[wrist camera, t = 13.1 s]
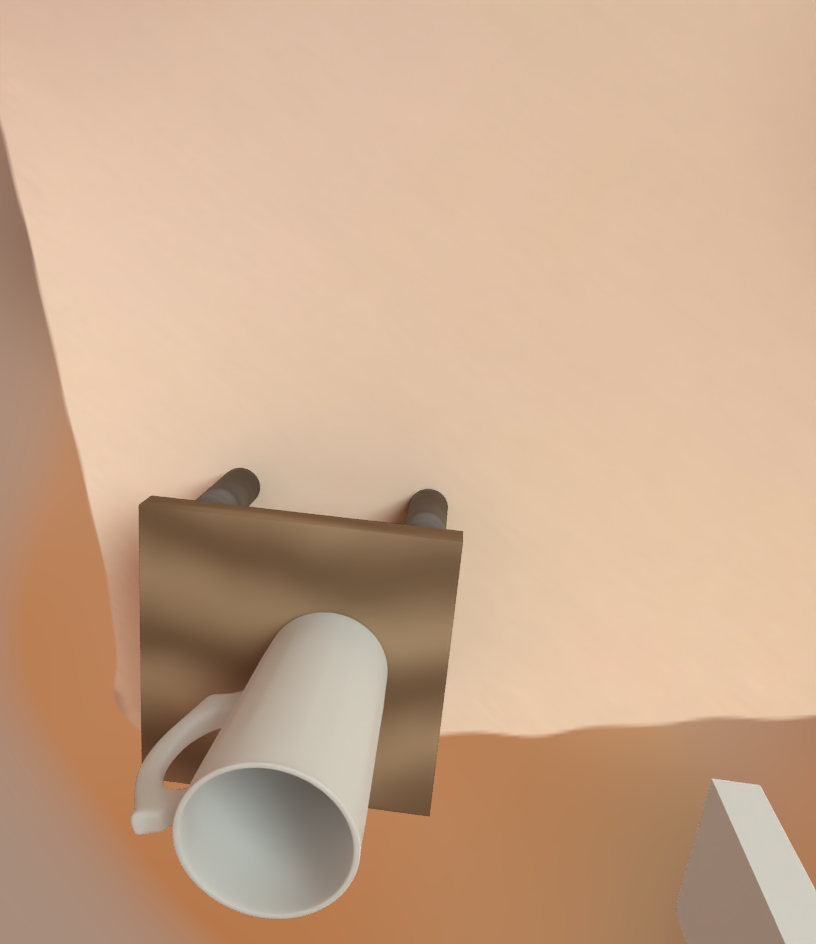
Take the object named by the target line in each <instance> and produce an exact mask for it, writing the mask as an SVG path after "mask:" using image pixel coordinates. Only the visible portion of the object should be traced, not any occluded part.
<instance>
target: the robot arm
mask: <svg viewBox="0 0 816 944" xmlns="http://www.w3.org/2000/svg"><path fill="white" fill-rule="evenodd" d="M676 912H677V915H678V919H679V922H680V925H681V928H682V931H683V935H684V938H685V942H686V944H816V890H815V888H814V886H813V885H812V883H811V881H810V879H809V877H808V875H807V873H806V871H805V869H804V868H803V866H802V864H801V862H800V860H799V858H798V856H797V854H796V852H795V850H794V849H793V847H792V845H791V843H790V841H789V839H788V837H787V835H786V833H785V832H784V830H783V828H782V826H781V824H780V822H779V820H778V818H777V816H776V815H775V813H774V811H773V809H772V807H771V805H770V803H769V801H768V800H767V798H766V796H765V794H764V792H763V790H762V788H761V786H760V785H754V784H747V783H740V782H732V781H726V780H719V779H711V783H710V786H709V790H708V794H707V797H706V801H705V805H704V808H703V812H702V815H701V819H700V822H699V826H698V830H697V833H696V837H695V841H694V844H693V848H692V851H691V855H690V858H689V862H688V866H687V869H686V873H685V876H684V880H683V884H682V887H681V891H680V894H679V898H678V902H677V905H676Z"/></svg>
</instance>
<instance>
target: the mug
mask: <svg viewBox="0 0 816 944" xmlns="http://www.w3.org/2000/svg"><path fill="white" fill-rule="evenodd" d="M387 674H388V668H387V660H386V656H385V653H384V651H383V648H382V646H381V644H380V643H379V641H378V640H377V638H376V637H375V636H374V635H373V633H372V632H371V631H370V630H368V629H367V628H366V627H365V626H364V625H362V624H361V623H359V622H358V621H356V620H354V619H352V618H350V617H347V616H344V615H341V614H337V613H330V612H317V613H310V614H306V615H303V616H300V617H298V618H296V619H294V620H292V621H291V622H289V623H288V624H287V625H285V626H284V627H283V628H282V629H281V630H280V631H279V632H278V634H277V635H276V636H275V638H274V639H273V641H272V642H271V644H270V646H269V647H268V649H267V650H266V652H265V654H264V655H263V657H262V659H261V660H260V662H259V664H258V666H257V667H256V669H255V671H254V673H253V674H252V676H251V678H250V680H249V682H248V683H247V685H246V687H245V689H244V690H243V691H240V692H236V693H229V694H213V695H210V696H208V697H207V698H205V699H204V700H203V701H202V702H201V703H200V704H199V705H197V706H196V707H195V708H194V709H193V710H192V711H191V712H190V713H188V714H187V715H186V716H185V717H184V718H183V719H181V720H180V721H179V722H178V723H177V724H176V725H175V726H174V727H172V728H171V729H170V730H169V731H168V732H167V733H166V734H165V735H164V736H163V737H162V738H161V739H160V740H159V741H158V742H157V744H156V745H155V746H154V747H153V748H152V750H151V751H150V752H149V754H148V755H147V756H146V758H145V760H144V761H143V763H142V765H141V767H140V769H139V772H138V775H137V778H136V782H135V793H134V800H135V801H134V802H135V808H134V812H133V814H132V816H131V826H132V829H133V831H134V833H135V834H138V835H142V834H147V833H157V832H162V831H164V830H165V829H167V828H168V827H169V826H172V825H173V828H172V835H173V844H174V848H175V852H176V854H177V857H178V859H179V861H180V863H181V865H182V867H183V868H184V870H185V872H186V873H187V874H188V875H189V877H190V878H191V879H192V880H193V882H194V883H195V884H196V885H197V886H198V887H199V888H200V889H201V890H202V891H204V892H205V893H206V894H207V895H209V896H210V897H211V898H213V899H214V900H216V901H217V902H219V903H221V904H223V905H225V906H227V907H228V908H231V909H233V910H235V911H238V912H241V913H244V914H247V915H251V916H256V917H262V918H271V919H272V918H273V919H274V918H275V919H284V918H294V917H299V916H304V915H307V914H310V913H313V912H316V911H318V910H320V909H322V908H324V907H326V906H328V905H329V904H331V903H332V902H334V901H335V900H336V899H337V898H339V896H341V895H342V894H343V893H344V891H345V890H346V889H347V888H348V887H349V885H350V884H351V882H352V880H353V878H354V876H355V874H356V872H357V869H358V865H359V861H360V854H361V844H362V838H363V833H364V828H365V822H366V817H367V810H368V804H369V797H370V791H371V784H372V778H373V771H374V764H375V758H376V751H377V745H378V738H379V732H380V726H381V720H382V714H383V707H384V698H385V690H386V683H387ZM219 728H221V730H220V732H219V734H218V735H217V737H216V739H215V741H214V742H213V744H212V746H211V747H210V749H209V751H208V753H207V754H206V756H205V758H204V760H203V761H202V763H201V765H200V767H199V768H198V770H197V772H196V774H195V776H194V778H193V779H192V781H191V783H190V785H189V787H187V788H184V789H178V790H172V789H168V788H166V787H164V785H163V779H164V775H165V773H166V770H167V769H168V767H169V765H170V764H171V763H172V761H173V760H174V759H175V758H176V757H177V755H178V754H179V753H180V752H181V751H182V750H183V749H184V748H185V747H187V746H188V745H189V744H190V743H192V742H193V741H195V740H196V739H198V738H200V737H202V736H203V735H205V734H207V733H209V732H212V731H214V730H216V729H219Z"/></svg>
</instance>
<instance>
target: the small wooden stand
mask: <svg viewBox="0 0 816 944" xmlns="http://www.w3.org/2000/svg"><path fill="white" fill-rule="evenodd" d="M259 491H260V484H259V481H258V478H257V477H256V476H255V474H254V473H252V472H251V471H249V470H247V469H244V468H236V469H233V470H231V471H229V472H228V473H227V474H226V475H225V476H223V477H222V478H221V479H220V480H219V481H218V482H216V483H215V484H214V485H213V486H212V487H211V488H209V489H208V490H207V491H206V492H205V493H204V494H202V495H201V496H200V497H199V498H198V499H197V500H195V501H194V500H185V499H176V498H168V497H159V496H150V497H149V498H148V499H146V500H145V501H143V502H142V503H141V504H139V569H140V650H141V732H142V763H143V761H144V760H145V758H146V756H147V755H148V754H149V752H150V751H151V750H152V748H153V747H154V746H155V745H156V744H157V742H158V741H159V740H160V739H161V738H162V737H163V736H164V735H165V734H166V733H167V732H168V731H169V730H170V729H171V728H172V727H174V726H175V725H176V724H177V723H178V722H179V721H180V720H181V719H183V718H184V717H185V716H186V715H187V714H188V713H190V712H191V711H192V710H193V709H194V708H195V707H196V706H197V705H199V704H200V703H201V702H202V701H203V700H204V699H205V698H207V697H208V696H210V695H213V694H229V693H236V692H240V691H243V690H244V689H245V687H246V685H247V683H248V682H249V680H250V678H251V676H252V674H253V673H254V671H255V669H256V667H257V666H258V664H259V662H260V660H261V659H262V657H263V655H264V654H265V652H266V650H267V649H268V647H269V646H270V644H271V642H272V641H273V639H274V638H275V636H276V635H277V634H278V632H279V631H280V630H281V629H282V628H283V627H284V626H285V625H287V624H288V623H289V622H291V621H292V620H294V619H296V618H298V617H300V616H303V615H306V614H310V613H317V612H330V613H337V614H341V615H344V616H347V617H350V618H352V619H354V620H356V621H358V622H359V623H361V624H362V625H364V626H365V627H366V628H367V629H368V630H370V631H371V632H372V633H373V635H374V636H375V637H376V638H377V640H378V641H379V643H380V644H381V646H382V648H383V651H384V653H385V656H386V660H387V668H388V674H387V683H386V690H385V698H384V707H383V714H382V720H381V726H380V732H379V738H378V745H377V751H376V758H375V764H374V771H373V778H372V784H371V791H370V797H369V804H368V808H371V809H379V810H386V811H393V812H400V813H408V814H415V815H423V816H430V808H431V800H432V792H433V784H434V775H435V767H436V766H435V765H436V759H437V751H438V742H439V734H440V726H441V718H442V710H443V701H444V693H445V685H446V677H447V669H448V660H449V652H450V644H451V636H452V627H453V619H454V611H455V603H456V595H457V586H458V578H459V570H460V562H461V553H462V545H463V531H455V530H447V529H446V522H447V510H448V505H447V501H446V499H445V498H444V496H443V495H442V494H441V493H439V492H438V491H436V490H432V489H424V490H421V491H419V492H417V493H416V494H415V495H414V496H413V497H412V499H411V501H410V505H409V509H408V513H407V517H406V521H405V525H403V524H394V523H386V522H377V521H368V520H359V519H351V518H342V517H333V516H324V515H316V514H307V513H298V512H290V511H281V510H272V509H263V508H255V507H249V505H250V504H251V503H252V502H253V501H254V500H255V499H256V498H257V496H258V494H259ZM220 730H221V728H219V729H216V730H214V731H212V732H209V733H207V734H205V735H203V736H202V737H200V738H198V739H196V740H195V741H193V742H192V743H190V744H189V745H188V746H187V747H185V748H184V749H183V750H182V751H181V752H180V753H179V754H178V755H177V757H176V758H175V759H174V760H173V761H172V763H171V764H170V765H169V767H168V769H167V770H166V773H165V775H164V779H163V781H170V782H178V783H185V784H190V783H191V781H192V779H193V778H194V776H195V774H196V772H197V770H198V768H199V767H200V765H201V763H202V761H203V760H204V758H205V756H206V754H207V753H208V751H209V749H210V747H211V746H212V744H213V742H214V741H215V739H216V737H217V735H218V734H219V732H220Z"/></svg>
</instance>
